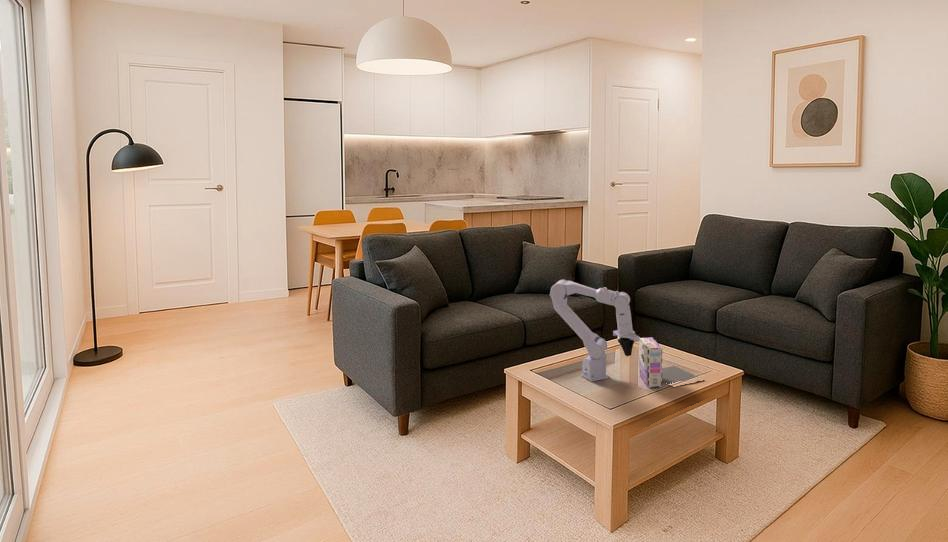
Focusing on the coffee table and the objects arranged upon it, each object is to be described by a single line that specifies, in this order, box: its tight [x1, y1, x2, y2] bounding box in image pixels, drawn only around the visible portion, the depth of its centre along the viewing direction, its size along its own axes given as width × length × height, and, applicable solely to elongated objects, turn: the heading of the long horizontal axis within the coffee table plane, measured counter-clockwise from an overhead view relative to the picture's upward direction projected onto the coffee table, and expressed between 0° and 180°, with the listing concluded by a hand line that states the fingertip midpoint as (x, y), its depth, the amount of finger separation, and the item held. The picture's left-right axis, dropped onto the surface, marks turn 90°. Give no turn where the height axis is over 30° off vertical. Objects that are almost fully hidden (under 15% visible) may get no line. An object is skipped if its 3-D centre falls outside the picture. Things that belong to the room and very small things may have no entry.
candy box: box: [638, 336, 663, 389], centre depth 242 cm, size 14×6×16 cm, turn 179°
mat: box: [662, 365, 699, 385], centre depth 248 cm, size 16×18×1 cm
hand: (628, 355), depth 243 cm, fingers closed
